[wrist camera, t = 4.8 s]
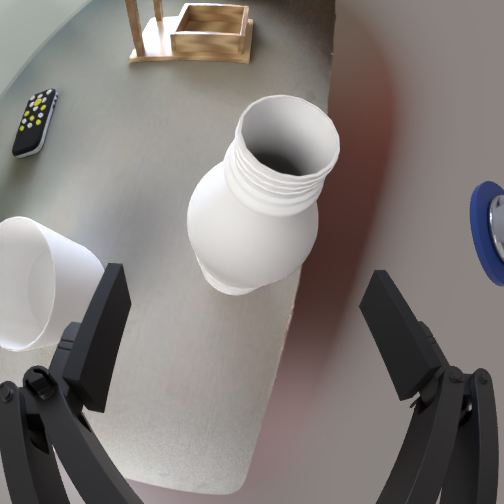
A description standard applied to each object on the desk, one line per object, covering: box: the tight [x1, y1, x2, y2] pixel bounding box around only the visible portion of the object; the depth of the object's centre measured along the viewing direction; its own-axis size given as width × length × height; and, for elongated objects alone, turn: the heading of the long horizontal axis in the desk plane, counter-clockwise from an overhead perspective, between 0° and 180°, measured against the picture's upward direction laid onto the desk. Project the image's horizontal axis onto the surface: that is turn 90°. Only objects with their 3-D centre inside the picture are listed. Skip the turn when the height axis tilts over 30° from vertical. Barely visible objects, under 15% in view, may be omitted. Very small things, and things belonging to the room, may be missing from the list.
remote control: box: [12, 89, 58, 158], centre depth 31 cm, size 6×13×2 cm, turn 6°
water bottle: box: [187, 95, 340, 295], centre depth 19 cm, size 7×7×25 cm
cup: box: [0, 216, 104, 352], centre depth 23 cm, size 12×12×12 cm
